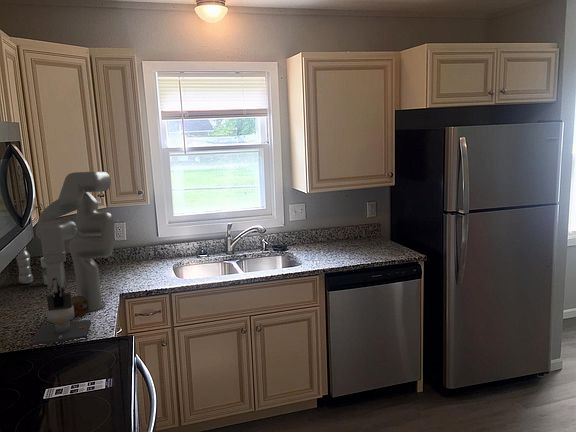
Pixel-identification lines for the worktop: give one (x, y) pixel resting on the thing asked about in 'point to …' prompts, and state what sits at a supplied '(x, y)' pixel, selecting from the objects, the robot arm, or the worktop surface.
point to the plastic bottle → (24, 267)
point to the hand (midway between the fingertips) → (60, 304)
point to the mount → (62, 332)
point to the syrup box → (44, 271)
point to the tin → (80, 305)
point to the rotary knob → (60, 309)
